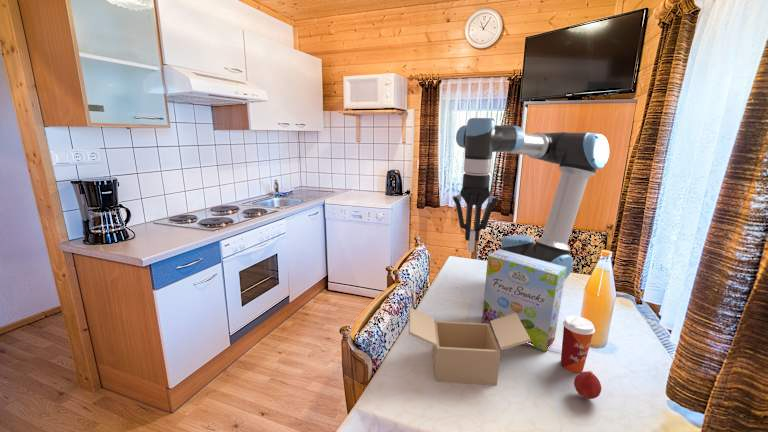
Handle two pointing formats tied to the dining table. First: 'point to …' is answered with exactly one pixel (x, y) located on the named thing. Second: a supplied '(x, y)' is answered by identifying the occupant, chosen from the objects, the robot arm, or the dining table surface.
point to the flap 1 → (422, 326)
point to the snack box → (524, 294)
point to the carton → (465, 353)
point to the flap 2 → (509, 331)
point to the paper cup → (576, 343)
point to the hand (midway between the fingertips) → (470, 250)
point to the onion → (587, 385)
